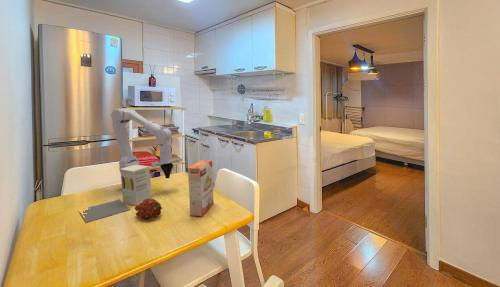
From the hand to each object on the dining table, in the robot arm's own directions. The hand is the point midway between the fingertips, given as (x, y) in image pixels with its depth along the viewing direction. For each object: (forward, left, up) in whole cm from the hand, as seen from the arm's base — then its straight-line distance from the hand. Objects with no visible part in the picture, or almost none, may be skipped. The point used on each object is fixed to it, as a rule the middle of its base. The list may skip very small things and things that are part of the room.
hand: (167, 177), depth 132 cm
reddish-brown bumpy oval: (+21, -19, -8) cm, 29 cm away
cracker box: (+31, +1, -8) cm, 32 cm away
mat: (0, -30, -8) cm, 31 cm away
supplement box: (0, -16, -8) cm, 18 cm away
